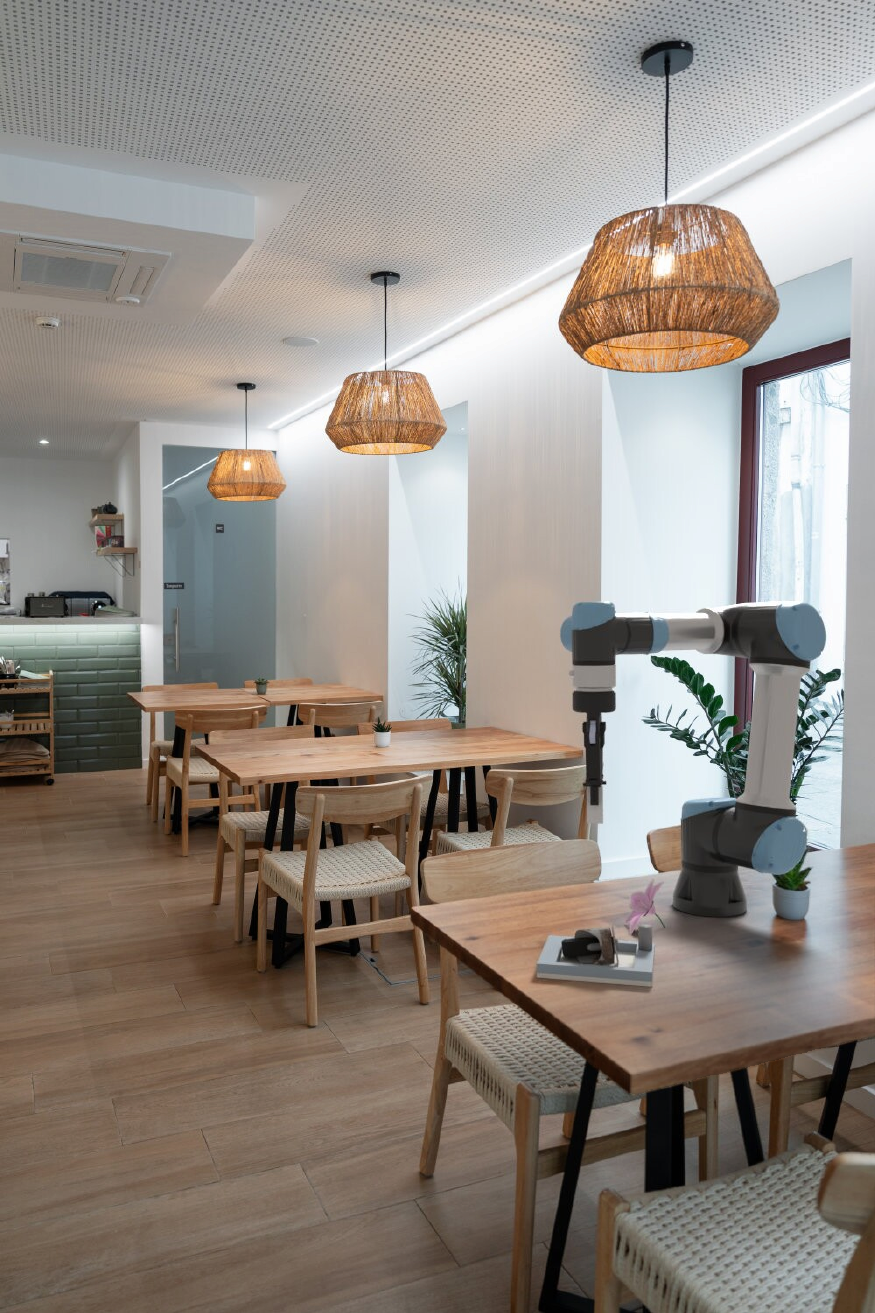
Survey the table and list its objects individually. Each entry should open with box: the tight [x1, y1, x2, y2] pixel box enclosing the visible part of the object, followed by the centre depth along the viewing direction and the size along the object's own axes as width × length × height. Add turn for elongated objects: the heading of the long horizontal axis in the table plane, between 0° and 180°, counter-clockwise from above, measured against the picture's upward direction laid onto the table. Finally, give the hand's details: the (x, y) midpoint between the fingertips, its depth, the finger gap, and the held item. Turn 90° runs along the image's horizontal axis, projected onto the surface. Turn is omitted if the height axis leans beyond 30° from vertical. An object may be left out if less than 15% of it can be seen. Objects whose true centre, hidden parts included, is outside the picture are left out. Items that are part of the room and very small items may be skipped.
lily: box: [623, 878, 666, 935], centre depth 194 cm, size 12×12×10 cm
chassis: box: [536, 924, 656, 988], centre depth 172 cm, size 19×16×6 cm
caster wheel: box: [561, 923, 619, 967], centre depth 172 cm, size 7×11×10 cm
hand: (595, 822), depth 175 cm, fingers closed
